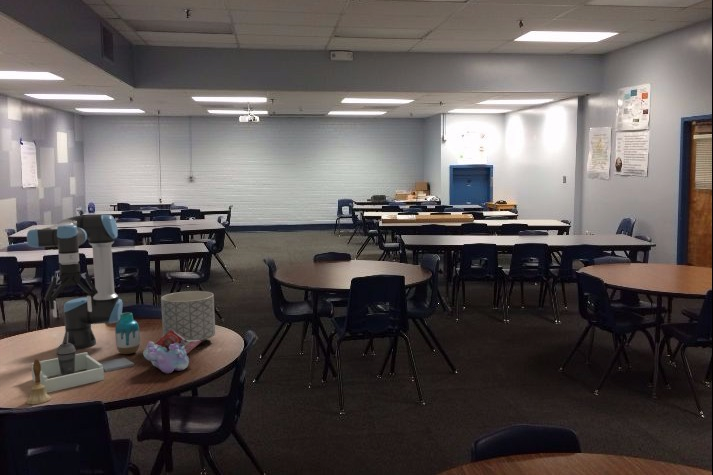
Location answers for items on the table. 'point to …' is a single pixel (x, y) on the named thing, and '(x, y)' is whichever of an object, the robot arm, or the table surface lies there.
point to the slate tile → (116, 364)
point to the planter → (189, 314)
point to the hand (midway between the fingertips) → (72, 314)
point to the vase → (127, 334)
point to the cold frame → (71, 380)
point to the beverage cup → (66, 358)
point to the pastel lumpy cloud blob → (170, 352)
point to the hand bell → (38, 387)
